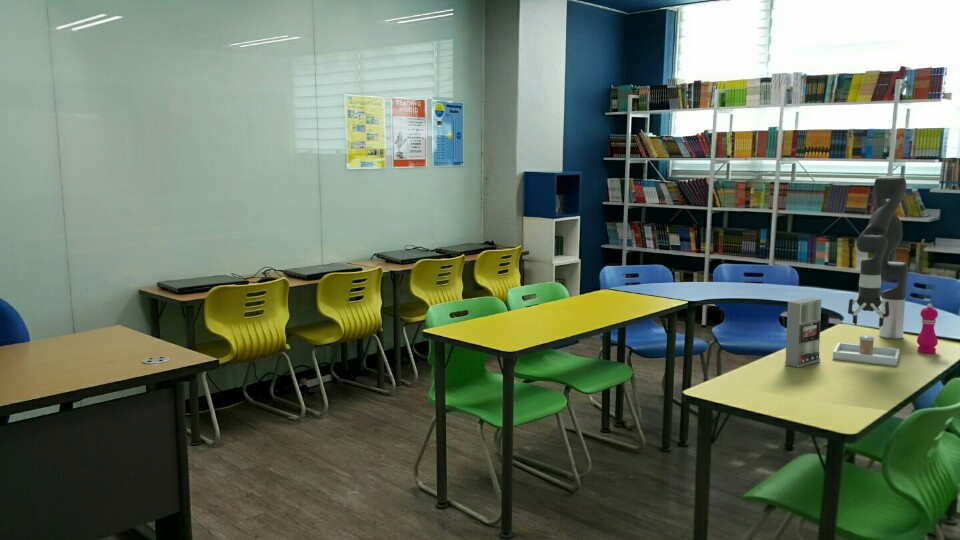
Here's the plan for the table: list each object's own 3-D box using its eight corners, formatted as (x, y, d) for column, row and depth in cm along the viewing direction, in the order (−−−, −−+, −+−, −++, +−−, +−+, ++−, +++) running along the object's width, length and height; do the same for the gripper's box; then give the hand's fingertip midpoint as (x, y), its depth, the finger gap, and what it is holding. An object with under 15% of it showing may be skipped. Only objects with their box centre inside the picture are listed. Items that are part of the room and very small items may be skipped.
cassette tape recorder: (799, 368, 275) (801, 304, 271) (784, 364, 280) (787, 301, 276) (820, 362, 282) (823, 299, 279) (806, 358, 287) (809, 297, 284)
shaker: (859, 354, 290) (860, 334, 289) (873, 355, 288) (874, 336, 286) (858, 357, 286) (859, 337, 285) (872, 358, 283) (873, 338, 282)
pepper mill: (940, 354, 288) (943, 305, 285) (920, 354, 290) (923, 305, 287) (932, 349, 295) (936, 302, 292) (913, 349, 297) (916, 301, 294)
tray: (838, 349, 299) (838, 342, 299) (899, 356, 288) (899, 348, 287) (832, 358, 286) (833, 351, 286) (896, 366, 274) (896, 358, 274)
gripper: (891, 285, 282) (889, 325, 284) (850, 282, 289) (848, 321, 292) (889, 288, 276) (887, 329, 278) (848, 285, 283) (846, 325, 286)
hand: (867, 325), depth 285 cm, fingers open, 8 cm apart
